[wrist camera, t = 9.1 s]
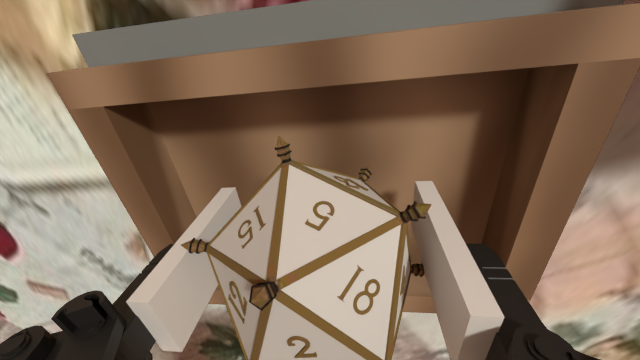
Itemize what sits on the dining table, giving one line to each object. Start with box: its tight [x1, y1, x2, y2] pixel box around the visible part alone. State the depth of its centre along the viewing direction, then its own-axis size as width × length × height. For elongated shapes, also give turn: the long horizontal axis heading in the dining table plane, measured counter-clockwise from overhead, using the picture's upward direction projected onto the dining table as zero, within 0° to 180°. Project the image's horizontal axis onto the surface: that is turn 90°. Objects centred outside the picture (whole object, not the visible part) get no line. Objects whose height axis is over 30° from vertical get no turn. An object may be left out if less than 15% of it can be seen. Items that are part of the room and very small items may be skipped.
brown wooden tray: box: [47, 3, 640, 313], centre depth 14 cm, size 22×15×4 cm
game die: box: [181, 136, 432, 360], centre depth 10 cm, size 9×8×10 cm
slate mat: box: [73, 0, 623, 68], centre depth 15 cm, size 24×18×1 cm
